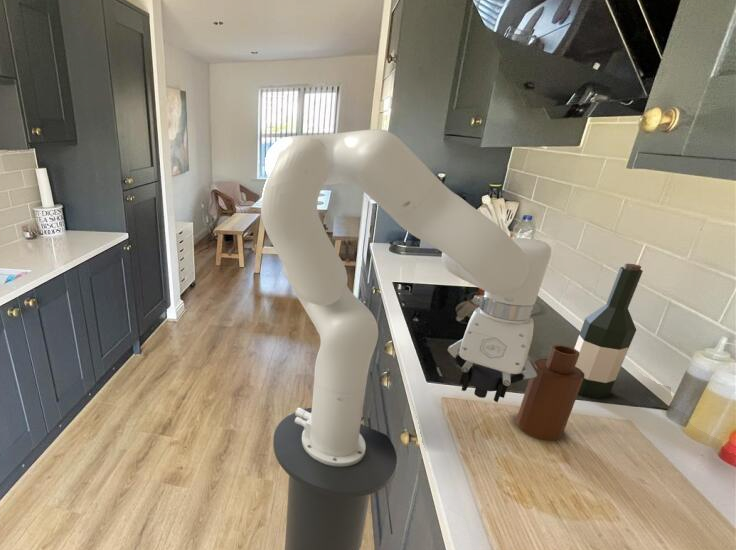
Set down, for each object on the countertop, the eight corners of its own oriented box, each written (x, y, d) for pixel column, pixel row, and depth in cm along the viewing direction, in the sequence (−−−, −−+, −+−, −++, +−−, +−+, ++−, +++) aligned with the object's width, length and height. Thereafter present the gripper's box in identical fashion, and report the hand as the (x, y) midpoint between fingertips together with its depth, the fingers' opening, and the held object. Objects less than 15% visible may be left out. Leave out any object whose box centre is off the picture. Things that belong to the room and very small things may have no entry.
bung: (463, 395, 78) (470, 371, 76) (468, 385, 81) (475, 361, 79) (491, 405, 75) (499, 380, 73) (496, 394, 78) (503, 370, 76)
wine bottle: (558, 387, 93) (602, 265, 82) (566, 374, 98) (608, 257, 87) (605, 403, 87) (660, 274, 76) (611, 388, 92) (663, 265, 81)
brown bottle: (513, 429, 80) (539, 351, 73) (518, 411, 85) (542, 337, 78) (560, 446, 76) (591, 364, 69) (562, 426, 81) (591, 348, 74)
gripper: (448, 302, 73) (428, 385, 80) (565, 328, 63) (531, 421, 70) (458, 291, 79) (438, 370, 85) (567, 314, 68) (535, 401, 75)
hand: (480, 392), depth 78 cm, fingers closed on bung, 4 cm apart
